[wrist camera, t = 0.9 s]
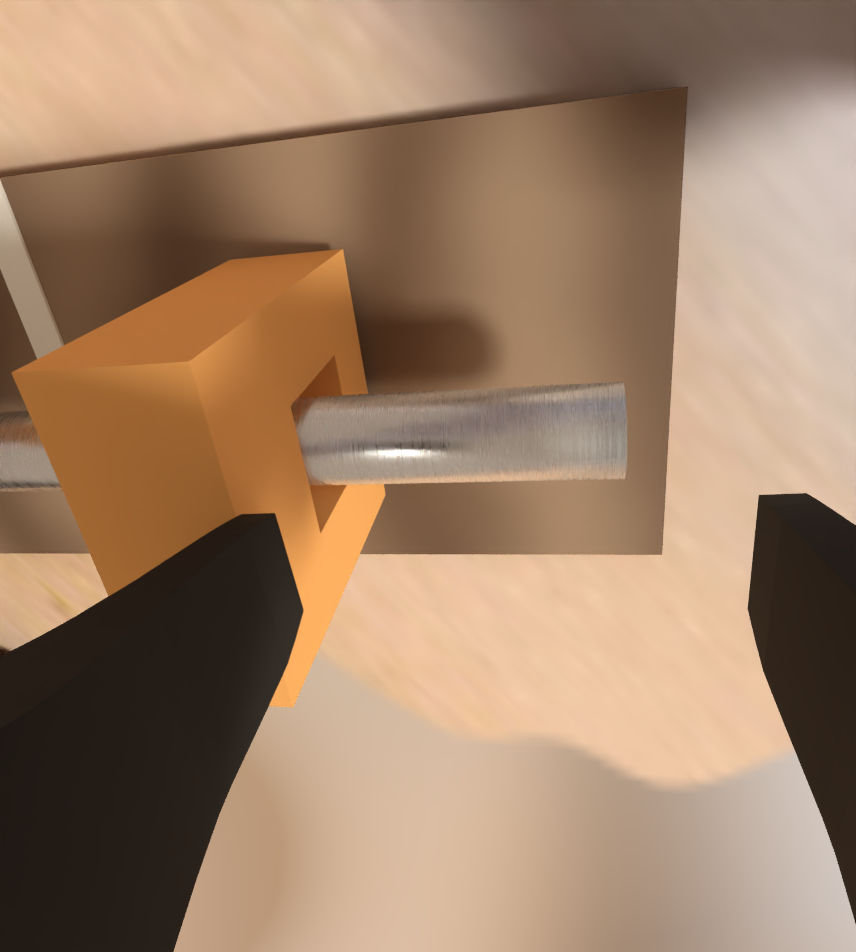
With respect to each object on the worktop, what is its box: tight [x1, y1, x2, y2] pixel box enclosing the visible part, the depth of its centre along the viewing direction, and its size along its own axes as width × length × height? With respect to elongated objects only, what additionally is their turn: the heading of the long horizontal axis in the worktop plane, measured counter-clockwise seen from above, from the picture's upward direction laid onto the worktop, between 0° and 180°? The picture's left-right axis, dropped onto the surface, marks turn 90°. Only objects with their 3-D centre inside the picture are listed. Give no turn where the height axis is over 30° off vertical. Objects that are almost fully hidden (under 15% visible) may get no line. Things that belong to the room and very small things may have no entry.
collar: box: [12, 249, 386, 707], centre depth 15 cm, size 3×7×8 cm, turn 6°
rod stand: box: [0, 87, 688, 555], centre depth 18 cm, size 26×12×7 cm, turn 97°
